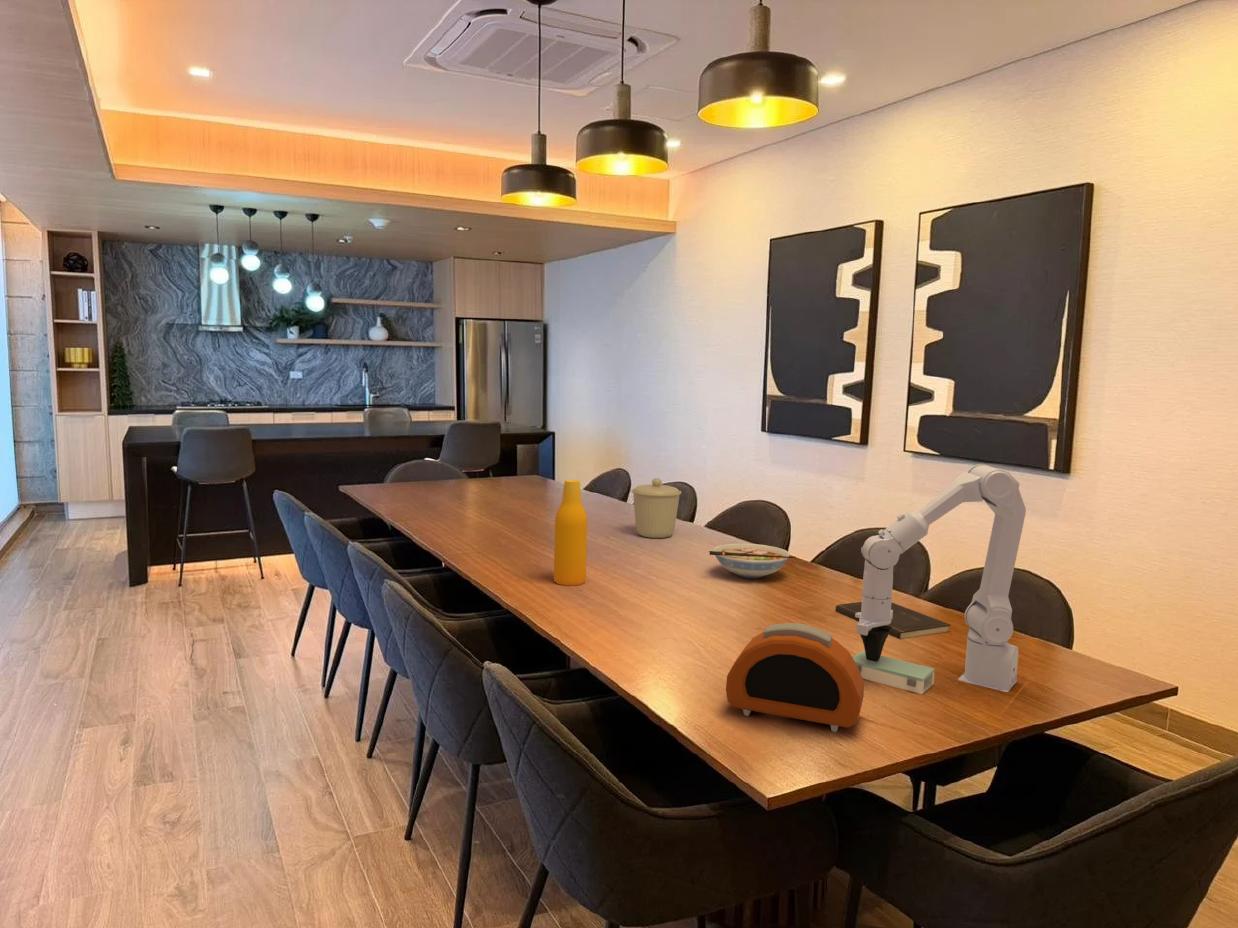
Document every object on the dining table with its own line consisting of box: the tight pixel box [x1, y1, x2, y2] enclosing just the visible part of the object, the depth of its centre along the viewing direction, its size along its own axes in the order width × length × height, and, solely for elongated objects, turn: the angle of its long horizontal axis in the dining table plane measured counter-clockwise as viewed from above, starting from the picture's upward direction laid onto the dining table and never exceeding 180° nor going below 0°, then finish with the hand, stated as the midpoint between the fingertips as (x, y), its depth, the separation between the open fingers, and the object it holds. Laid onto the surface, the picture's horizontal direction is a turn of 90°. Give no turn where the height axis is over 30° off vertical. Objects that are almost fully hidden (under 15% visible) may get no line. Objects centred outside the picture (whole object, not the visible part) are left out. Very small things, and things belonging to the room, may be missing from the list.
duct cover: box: [852, 650, 935, 682], centre depth 166 cm, size 15×7×1 cm, turn 52°
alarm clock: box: [725, 622, 865, 733], centre depth 148 cm, size 23×9×17 cm, turn 69°
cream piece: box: [857, 665, 935, 695], centre depth 166 cm, size 15×8×3 cm, turn 52°
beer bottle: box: [553, 479, 588, 587], centre depth 233 cm, size 9×9×29 cm
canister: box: [631, 477, 682, 539], centre depth 300 cm, size 18×18×21 cm
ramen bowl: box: [708, 542, 797, 579], centre depth 247 cm, size 25×23×8 cm
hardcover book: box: [835, 601, 951, 640], centre depth 207 cm, size 16×23×2 cm
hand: (872, 660), depth 168 cm, fingers closed, pressing on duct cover
